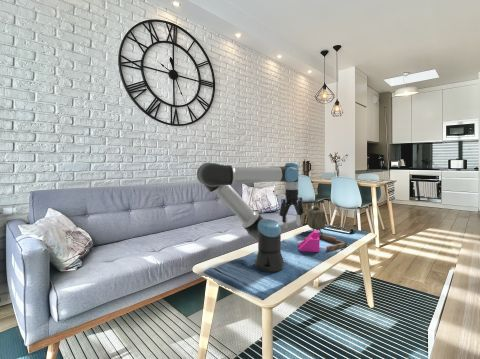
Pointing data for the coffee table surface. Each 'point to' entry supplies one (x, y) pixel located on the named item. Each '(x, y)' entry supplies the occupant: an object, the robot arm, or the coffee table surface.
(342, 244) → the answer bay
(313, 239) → the bracket
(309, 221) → the brown pump bottle
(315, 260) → the coffee table surface
